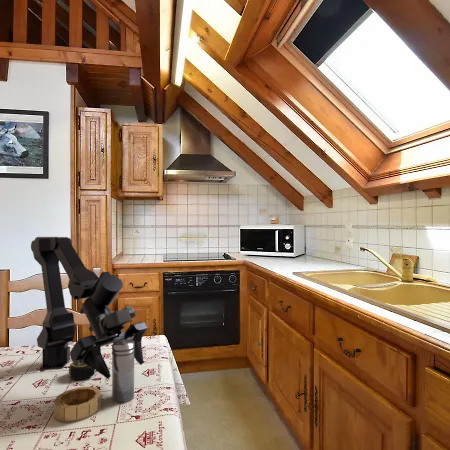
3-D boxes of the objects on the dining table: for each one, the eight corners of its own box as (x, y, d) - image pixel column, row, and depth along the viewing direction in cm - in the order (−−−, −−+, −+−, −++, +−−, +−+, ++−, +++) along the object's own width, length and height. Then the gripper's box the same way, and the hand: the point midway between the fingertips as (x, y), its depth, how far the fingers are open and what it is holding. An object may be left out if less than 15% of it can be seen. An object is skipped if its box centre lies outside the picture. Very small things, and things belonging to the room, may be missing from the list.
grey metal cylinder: (109, 404, 72) (109, 347, 73) (114, 393, 77) (114, 339, 78) (132, 402, 73) (132, 346, 73) (135, 391, 78) (136, 338, 79)
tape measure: (94, 380, 85) (94, 365, 85) (66, 383, 83) (66, 369, 83) (96, 369, 92) (96, 356, 92) (70, 372, 90) (70, 359, 90)
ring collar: (46, 424, 65) (47, 409, 65) (63, 400, 74) (64, 388, 74) (93, 420, 66) (93, 406, 66) (104, 397, 75) (104, 385, 75)
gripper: (76, 303, 71) (105, 364, 64) (143, 291, 86) (172, 339, 79) (59, 332, 75) (84, 393, 68) (125, 316, 90) (151, 364, 83)
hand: (126, 370), depth 75 cm, fingers open, 9 cm apart
